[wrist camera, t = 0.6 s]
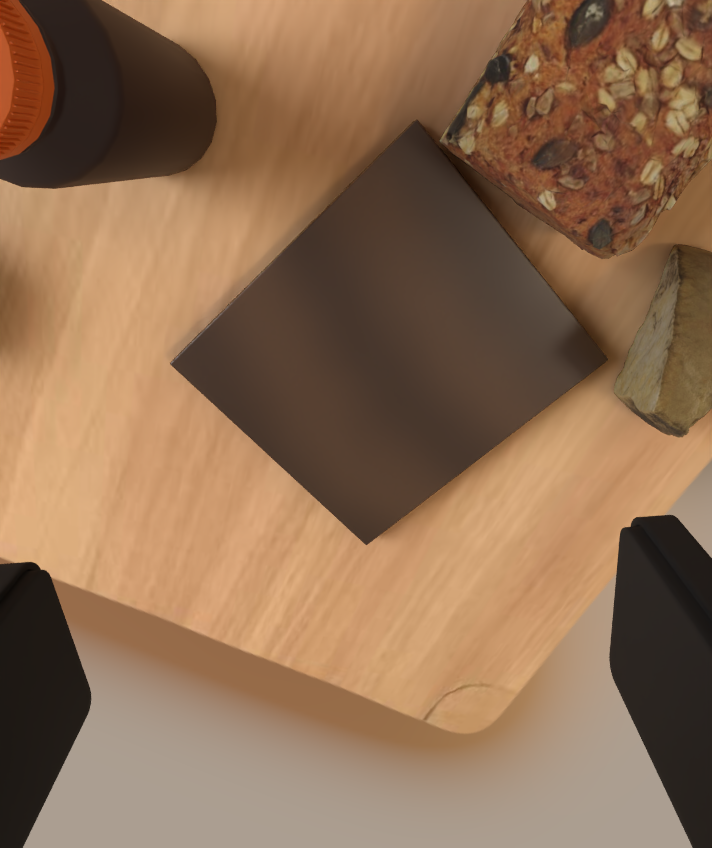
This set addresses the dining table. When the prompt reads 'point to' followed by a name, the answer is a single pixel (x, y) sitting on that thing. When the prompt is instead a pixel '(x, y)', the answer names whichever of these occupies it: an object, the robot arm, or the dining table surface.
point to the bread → (594, 115)
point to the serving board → (390, 341)
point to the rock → (673, 348)
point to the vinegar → (95, 97)
